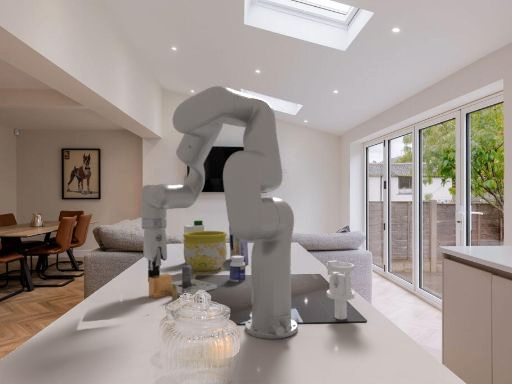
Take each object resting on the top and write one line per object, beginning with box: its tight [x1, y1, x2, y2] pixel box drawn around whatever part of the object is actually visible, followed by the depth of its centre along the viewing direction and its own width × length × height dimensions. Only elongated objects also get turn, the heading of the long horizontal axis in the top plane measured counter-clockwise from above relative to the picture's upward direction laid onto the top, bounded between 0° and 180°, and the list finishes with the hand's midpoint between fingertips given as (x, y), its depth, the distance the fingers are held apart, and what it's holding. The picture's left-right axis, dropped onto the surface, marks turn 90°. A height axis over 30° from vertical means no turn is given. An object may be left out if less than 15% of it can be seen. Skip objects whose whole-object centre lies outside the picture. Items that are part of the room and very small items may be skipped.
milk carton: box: [183, 220, 205, 264], centre depth 170 cm, size 9×9×20 cm
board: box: [171, 264, 192, 301], centre depth 118 cm, size 26×26×9 cm
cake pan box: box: [228, 225, 249, 265], centre depth 174 cm, size 19×5×18 cm, turn 17°
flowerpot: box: [182, 230, 228, 275], centre depth 150 cm, size 18×18×16 cm
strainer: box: [326, 259, 355, 320], centre depth 94 cm, size 7×7×15 cm
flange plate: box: [148, 273, 218, 299], centre depth 116 cm, size 20×14×6 cm
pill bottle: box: [229, 256, 246, 283], centre depth 130 cm, size 6×6×10 cm
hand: (153, 281), depth 113 cm, fingers closed
